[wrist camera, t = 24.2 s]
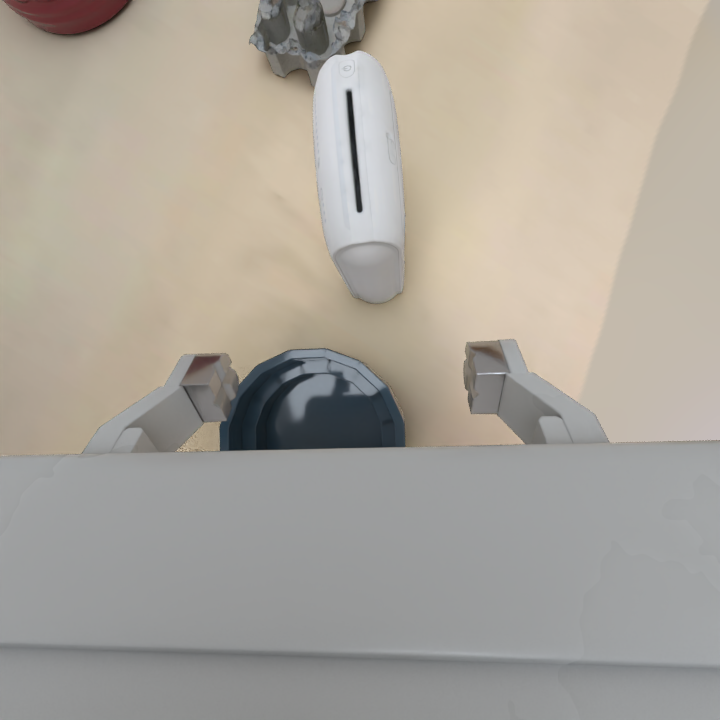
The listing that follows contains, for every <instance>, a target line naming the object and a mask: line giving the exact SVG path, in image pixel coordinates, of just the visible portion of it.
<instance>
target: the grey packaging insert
mask: <svg viewBox="0 0 720 720" xmlns="http://www.w3.org/2000/svg"><path fill="white" fill-rule="evenodd" d="M368 1H377V0H260V4H259V8H258V13H257V21H256V24H255V32H254V34H253V35H252V36H251V37H250V40H249V45H250V43H252V44H254V45H255V46H256V47H257V49H258V50H259V51H262V52H265V54H266V56H267V58H268V60H269V63H270V66H271V68H272V71H273V73H274V74H277V75H280V76H282V77H286V75H287V74H288V73H289V72H290V71H292V70H295V69H299V68H300V69H304V70H307V71H308V74H309V77H310V81H311V85H312V86H313V87H315V85H316V81H317V77H318V74H319V71H320V69H321V68H322V66H323V65H324V63H325V62H326V61H327V60H328V59H329V58H330V57H332V56H334V55H345V50H344V46H345V45H346V44H348V43H351V42H353V41H361V39H362V38H363V35H364V33H365V22H364V14H363V4H364V3H365V2H368Z"/></svg>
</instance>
